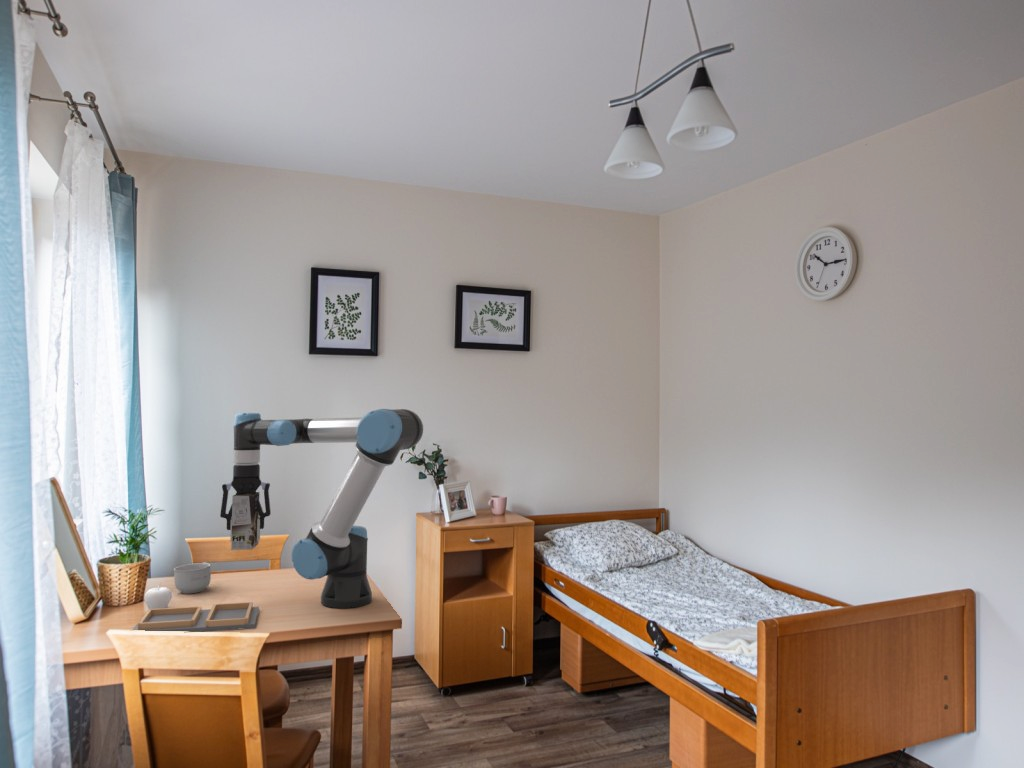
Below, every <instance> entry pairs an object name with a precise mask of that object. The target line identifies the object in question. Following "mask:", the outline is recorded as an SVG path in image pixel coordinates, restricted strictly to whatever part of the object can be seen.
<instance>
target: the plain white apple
mask: <svg viewBox="0 0 1024 768" xmlns="http://www.w3.org/2000/svg"><path fill="white" fill-rule="evenodd" d="M161 584H162V581H160V582H159V583H158V585H157V587H153V588H150V589H148V590H147V591H146V593H145V595H144V602H145V604H146V607H147V608H148V610H150V609H160V608H168V607H169V604H170V603H171V600H172V597H173V596H172V590H171V589H170V588H169V587H163V586H162V587H161Z"/></svg>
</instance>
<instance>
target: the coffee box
mask: <svg viewBox="0 0 1024 768" xmlns="http://www.w3.org/2000/svg"><path fill="white" fill-rule="evenodd" d="M256 496H257V497H258V499H259V500H260V491H256V494H240V495H236V493H235V494H234V495H232V501H231V503H232V504H231V505H232V536H231V544H230V550H232V551H239V550H240V551H241V550H246V551H250V550H251V551H252V550H254V548H256V547H257V546H258V545H259V543H260V542H259V541H257V518H260V516H259V514H258V511H257V508H256V504H257V497H256Z"/></svg>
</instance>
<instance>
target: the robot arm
mask: <svg viewBox="0 0 1024 768" xmlns="http://www.w3.org/2000/svg"><path fill="white" fill-rule="evenodd" d="M261 417H262V416H261V413H259V412H238V413H236V414H235V415H234V419H233V420H234V421H233V463H234V465H233V467H232V468H233V469H232V471H233V472H232V474H233V476H232V481H231V482H229V483H223V484H222V486H221V489H222V499H221V507H220V518H223V519H225V520H226V531H230V539H229V542H231V536H232V504H231V506H230V508H229V511H228V513H227V505H228V498H229V491H230V490H231V487H232V488H233V489H234V491H235V492H236V493H235V494H236V495H240V494H256V492H257V491H258V489H259V488H260V486H261V489H262V490H263V493H264V496H263V497H264V507H265V512H264V509H263V507H262V504H261V502H260V498H259V499H258V497H257V496H256V497H257V504H256V508H257V511H258V514H259V518H257V541H260V540H261V530H263V529H264V528H265V518H266V517H270V516H271V514H272V513H271V504H270V503H271V502H270V494H269V493H270V486H271V484H270V482H262V480H261V478H260V477H261V474H260V473H261V469H260V468H261V465H260V464H259V463H260V462H261V445H266V446H277V447H281V446H283V447H284V446H290V445H292V444H315V443H317V444H319V443H321V444H322V443H323V444H325V443H328V444H329V443H341V444H342V443H355V445H354V447H355V449H356V452H357V453H356V455H355V456H354V459H353V460H352V463H351V465H350V466H349V468H348V470H347V472H346V473H345V475H344V477H343V479H342V481H341V483H340V485H339V486H338V489H337V490H336V492H335V495H333V498H332V500H331V502H330V504H329V506H328V508H327V510H326V511H325V513H324V515H323V517H322V519H321V520H320V521H317V522H314V524H312V526H311V529H310V530H309V532H308V533H307V535H306V537H305V538H301V539H300V540H298V541H296V543H294V545H293V547H292V550H291V562H292V565H293V568H294V569H295V571H296V572H297V574H298V575H299V576H300V577H302V578H303V579H305V580H317V579H322V578H325V577H327V578H326V580H325V583H324V586H323V589H322V592H321V596H320V603H321V605H322V606H324V607H329V608H332V609H333V608H334V609H349V608H350V609H351V607H352V609H353V608H359V607H363V606H366V605H368V604H370V603H371V602H372V601H373V592H372V588H371V586H370V581H369V579H368V575H367V570H368V569H367V568H368V567H367V566H368V561H367V560H368V540H369V539H368V530H367V528H366V527H364V526H361V525H355V523H356V521H357V519H358V518H359V516H360V513H361V512H362V510H363V508H364V506H365V504H366V503H367V501H368V500H369V499H368V498H369V497H370V495H371V493H372V492H373V489H374V488H375V486H376V484H377V482H378V480H379V478H380V477H381V475H382V473H383V472H384V469H385V468H386V467H387V466H388V467H389V466H392V465H393V464H394V463H395V461H396V458H397V457H398V455H399V453H400V452H401V451H403V450H409V449H411V448H413V447H415V446H416V445H417V444H419V442H420V441H421V439H422V437H423V434H424V424H423V421H422V419H421V418H420V416H419V415H418V414H417V413H415V412H414V411H412V410H409V409H406V408H405V409H404V408H401V409H398V408H397V409H388V408H379V409H376V410H371V411H369V412H367V413H366V414H364V415H363V416H361V417H335V418H334V417H330V418H298V419H297V418H296V419H262V418H261Z"/></svg>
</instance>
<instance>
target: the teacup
mask: <svg viewBox="0 0 1024 768" xmlns="http://www.w3.org/2000/svg"><path fill="white" fill-rule="evenodd" d="M211 574H212V573H211V563H208V562H207V561H204V562H195V563H188V564H181V565H179V566H176V567H174V568H173V575H174V576H173V577H174V585H175V586H174V587H175V588H176V590H178V591H179V592H181V593H182V592H183V593H182V594H195V593H199V592H203V591H204V590H206V588H207V587H209V585H210V583H211V579H212V578H211Z"/></svg>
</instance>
